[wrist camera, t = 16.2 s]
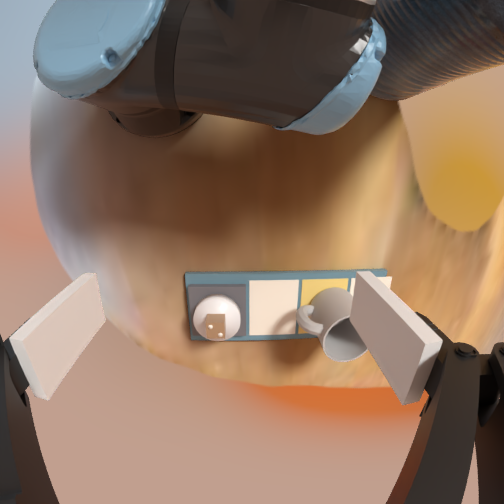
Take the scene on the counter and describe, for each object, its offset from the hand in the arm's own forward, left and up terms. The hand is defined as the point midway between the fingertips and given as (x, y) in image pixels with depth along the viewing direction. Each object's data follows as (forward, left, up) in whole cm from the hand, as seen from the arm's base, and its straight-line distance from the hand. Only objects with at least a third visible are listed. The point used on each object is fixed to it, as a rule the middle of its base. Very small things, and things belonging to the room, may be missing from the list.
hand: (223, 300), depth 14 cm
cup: (+14, +13, -26) cm, 32 cm away
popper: (+14, -2, -24) cm, 28 cm away
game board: (+14, +8, -27) cm, 31 cm away
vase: (-25, +21, -27) cm, 42 cm away
